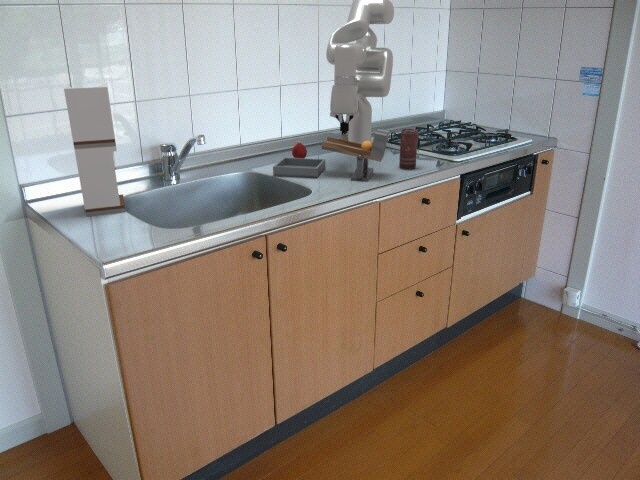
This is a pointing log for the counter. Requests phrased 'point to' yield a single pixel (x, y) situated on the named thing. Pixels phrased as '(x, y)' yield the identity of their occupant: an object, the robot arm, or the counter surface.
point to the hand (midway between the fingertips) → (344, 133)
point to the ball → (366, 146)
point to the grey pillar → (94, 148)
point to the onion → (299, 151)
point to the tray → (299, 167)
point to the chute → (358, 146)
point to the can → (408, 149)
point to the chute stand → (362, 170)
